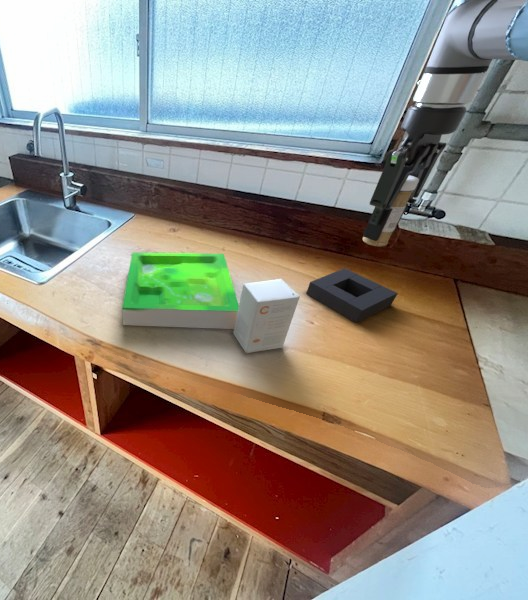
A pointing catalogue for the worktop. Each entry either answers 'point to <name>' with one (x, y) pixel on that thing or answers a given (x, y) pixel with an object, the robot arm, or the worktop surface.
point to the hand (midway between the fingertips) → (377, 235)
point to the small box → (264, 315)
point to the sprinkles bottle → (395, 212)
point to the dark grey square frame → (352, 307)
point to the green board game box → (179, 291)
